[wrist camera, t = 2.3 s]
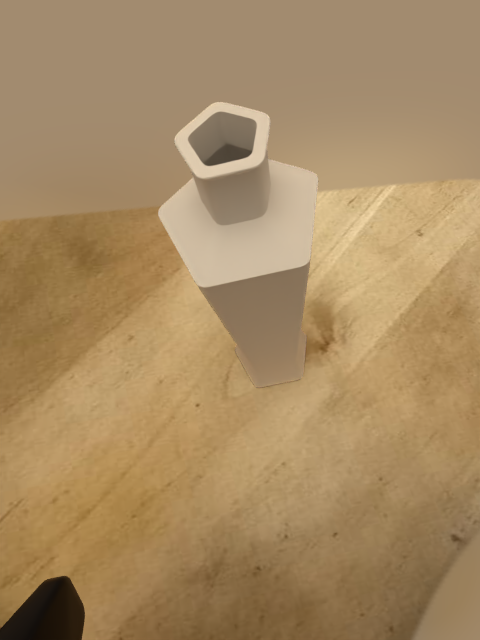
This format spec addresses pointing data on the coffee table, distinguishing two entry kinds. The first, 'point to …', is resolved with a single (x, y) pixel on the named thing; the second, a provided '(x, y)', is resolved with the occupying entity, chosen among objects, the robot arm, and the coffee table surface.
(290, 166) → the white pentagonal vase
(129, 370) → the coffee table surface
